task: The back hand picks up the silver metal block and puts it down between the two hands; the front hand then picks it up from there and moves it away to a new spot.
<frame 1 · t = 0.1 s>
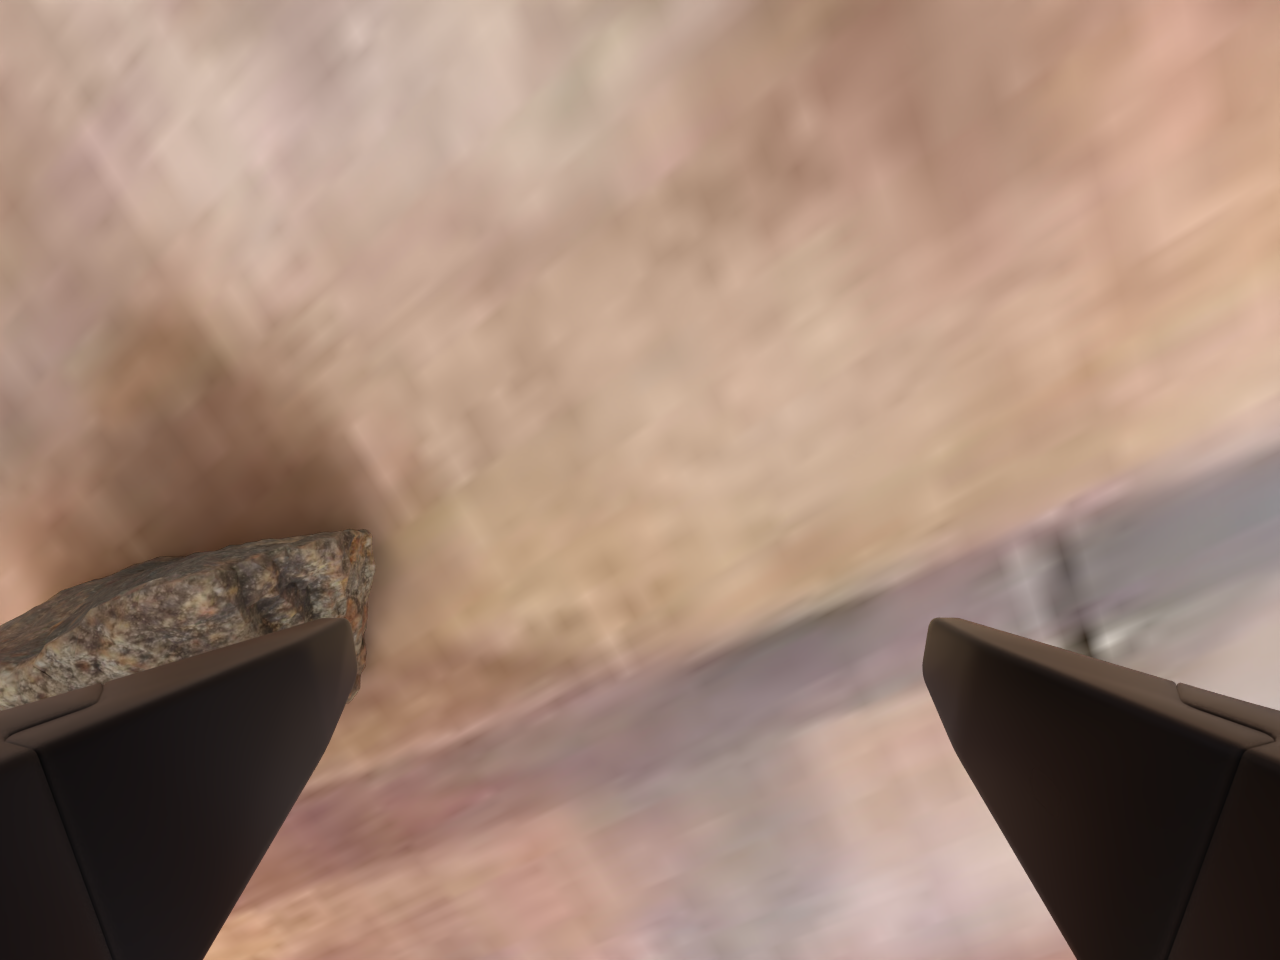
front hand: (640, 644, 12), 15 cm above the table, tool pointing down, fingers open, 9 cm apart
rock: (235, 618, 28), on the table
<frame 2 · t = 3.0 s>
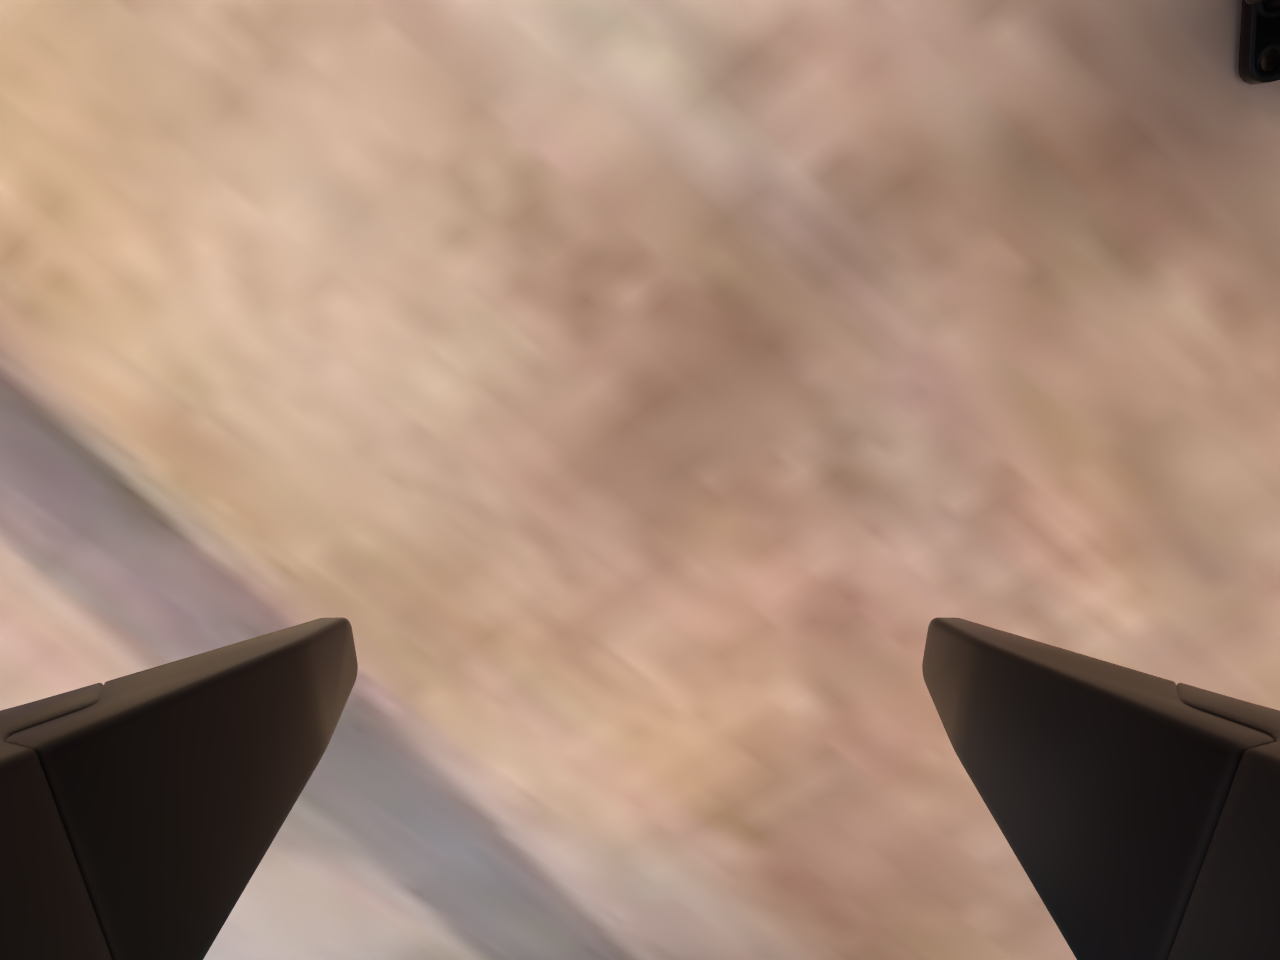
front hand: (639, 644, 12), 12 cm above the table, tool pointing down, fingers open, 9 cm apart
when the back hand's fingers open (2 cm above the table, at t = 8.1 s): silver metal block stays where it is, on the table.
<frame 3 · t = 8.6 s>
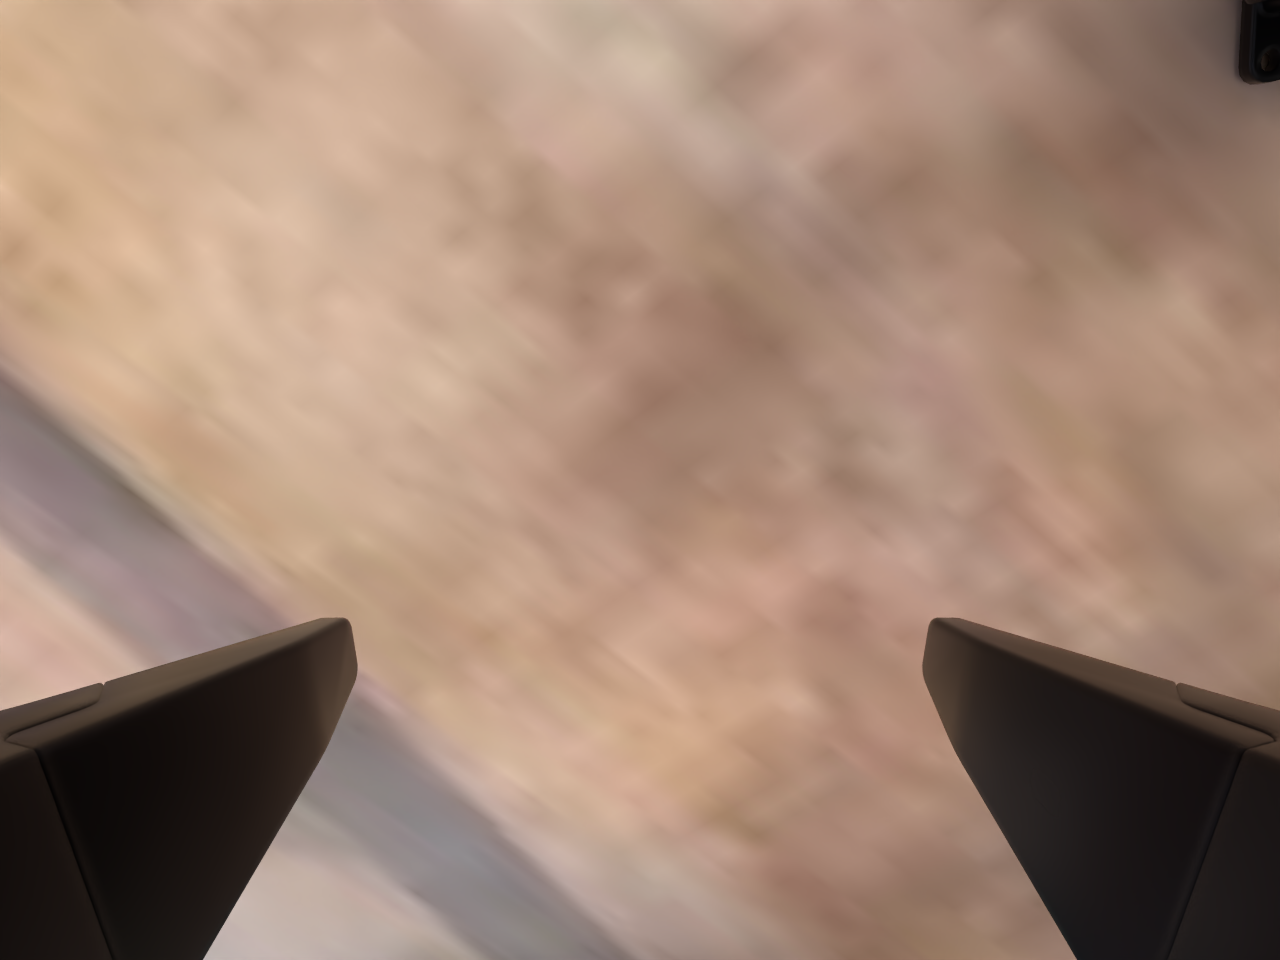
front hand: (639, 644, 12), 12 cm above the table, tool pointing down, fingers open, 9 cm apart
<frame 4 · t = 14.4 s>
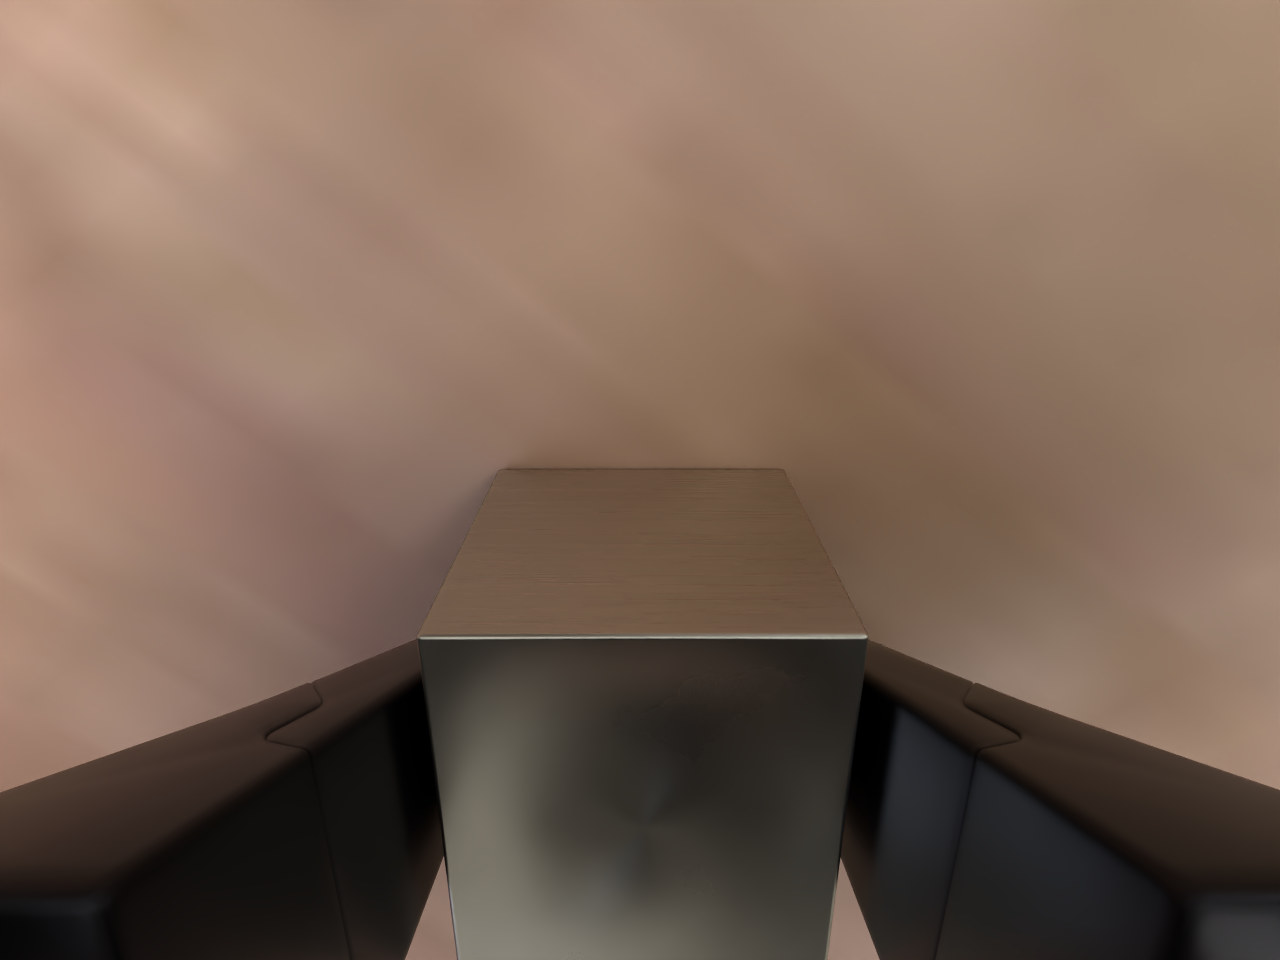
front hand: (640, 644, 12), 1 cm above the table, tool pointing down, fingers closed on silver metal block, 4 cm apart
silver metal block: (641, 606, 13), on the table, touching front hand
when the front hand's fingers open (2 cm above the table, at t = 19.8 s): silver metal block stays where it is, on the table.
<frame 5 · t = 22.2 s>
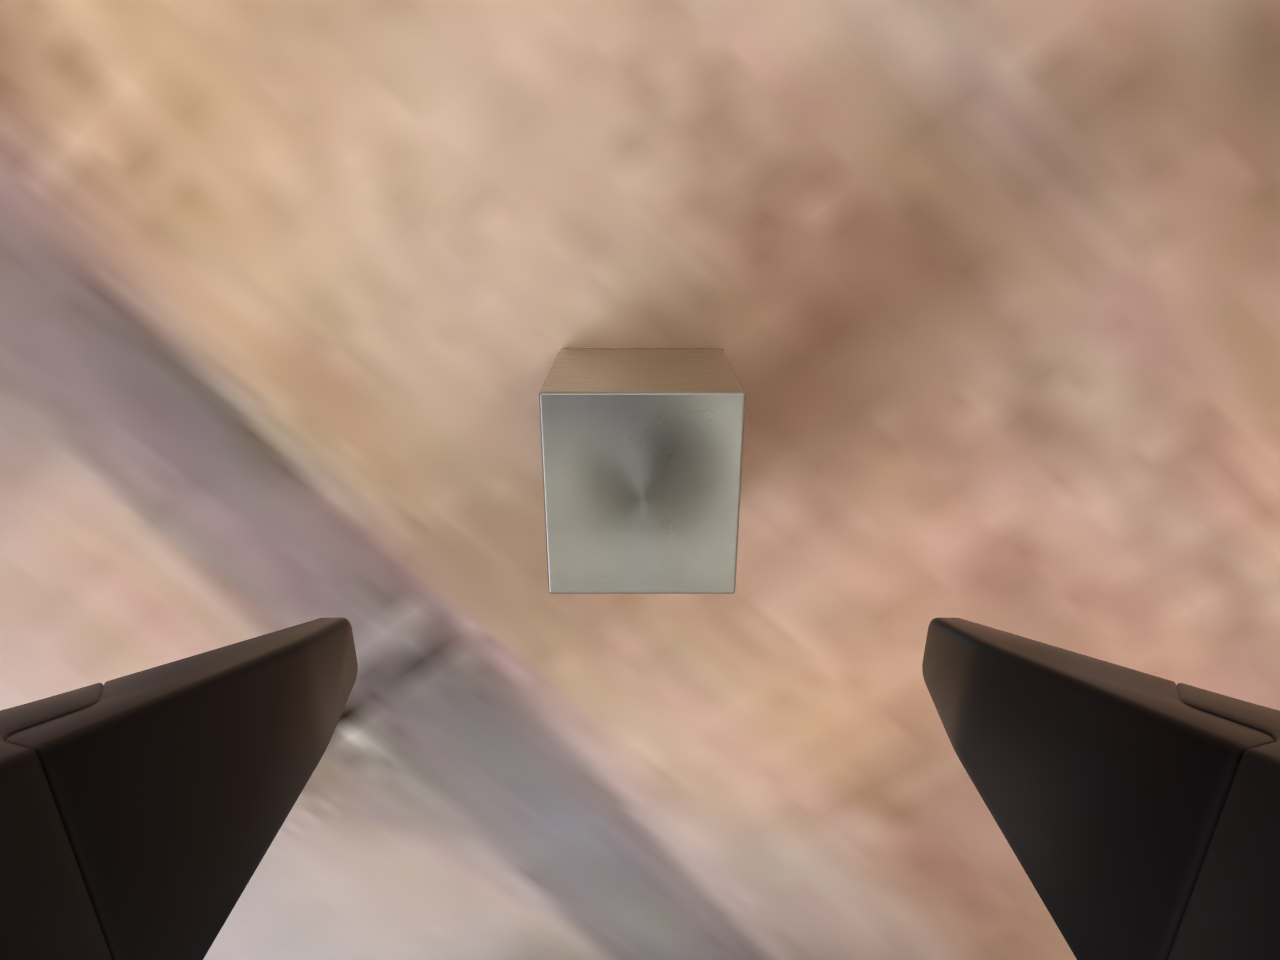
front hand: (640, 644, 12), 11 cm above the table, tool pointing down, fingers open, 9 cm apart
silver metal block: (641, 435, 22), on the table
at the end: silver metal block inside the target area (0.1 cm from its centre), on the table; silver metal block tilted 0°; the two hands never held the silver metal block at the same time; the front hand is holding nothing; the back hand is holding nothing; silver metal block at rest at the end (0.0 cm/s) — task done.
